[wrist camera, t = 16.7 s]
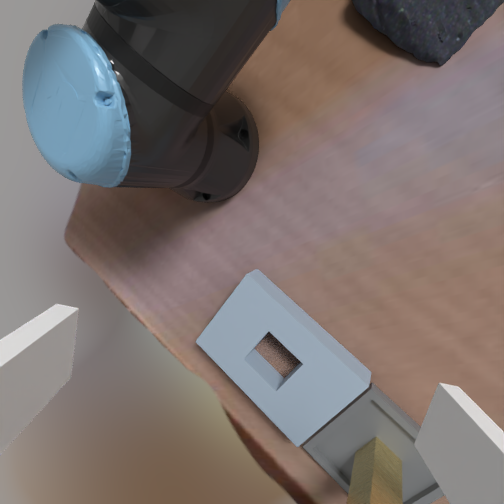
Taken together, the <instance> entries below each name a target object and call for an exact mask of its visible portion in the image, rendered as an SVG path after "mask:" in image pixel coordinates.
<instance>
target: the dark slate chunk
mask: <svg viewBox="0 0 504 504" xmlns="http://www.w3.org/2000/svg"><path fill="white" fill-rule="evenodd" d="M352 1H353V4H354V6H355V9H356V10H357V11H358V12H359V13H360V14H361V15H363V16H364V17H365V18H366V19H367V20H368V21H369V22H370V23H371V24H372V26H373V27H374V29H377V30H378V31H379V32H381V33H383V34H384V35H387V36H388V37H389V38H390V39H391V40H392V41H393V42H394V43H395V44H396V45H397V46H398V47H400V48H402V49H404V50H406V51H407V52H409V53H413V54H414V56H415V57H416V58H417V59H418V60H423V61H425V62H438V63H439V64H440V66H441V65H443V64H444V63H445V62H446V61H448V60H449V59H450V58H451V56H452V55H453V54H455V53H456V52H457V51H459V50H460V49H461V48H462V47H463V45H464V44H465V43H466V41H467V40H468V38H469V37H470V36H471V34H472V33H473V32H474V31H475V30H476V29H477V28H479V27H480V26H482V25H483V24H484V22H485V21H486V20H487V19H488V18H489V17H490V16H492V14H493V13H494V12H495V11H496V9H497V8H498V7H499V6H500V5H501V4H502V3H503V2H504V0H352Z"/></svg>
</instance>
